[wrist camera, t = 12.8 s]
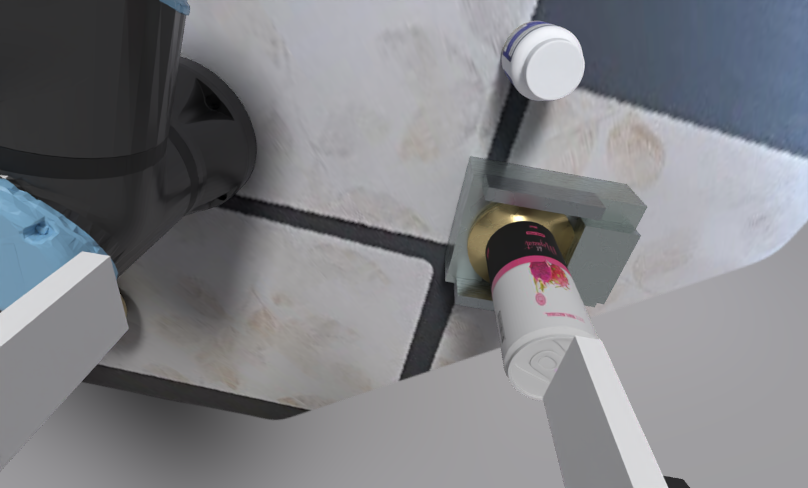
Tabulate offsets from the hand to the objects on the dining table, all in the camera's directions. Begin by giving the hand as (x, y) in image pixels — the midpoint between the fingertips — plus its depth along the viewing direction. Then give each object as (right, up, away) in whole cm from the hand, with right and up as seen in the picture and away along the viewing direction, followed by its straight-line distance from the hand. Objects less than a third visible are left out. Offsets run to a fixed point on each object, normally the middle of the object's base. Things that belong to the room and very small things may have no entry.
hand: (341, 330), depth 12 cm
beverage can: (+13, +2, +28) cm, 31 cm away
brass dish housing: (+15, +5, +33) cm, 37 cm away
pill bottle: (+13, +19, +25) cm, 34 cm away
